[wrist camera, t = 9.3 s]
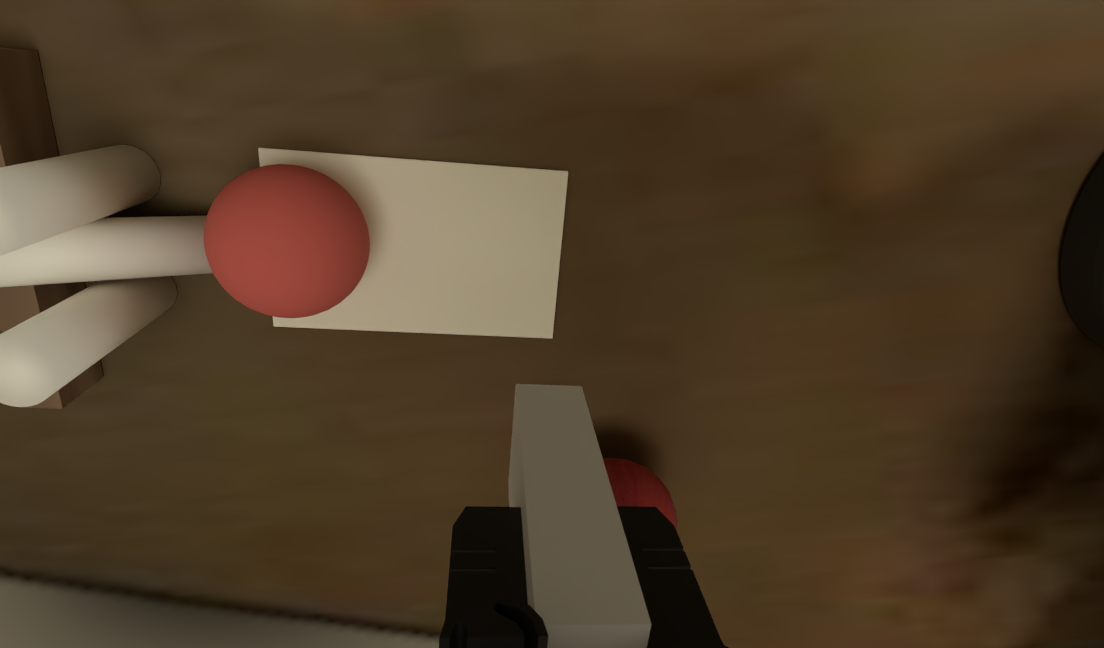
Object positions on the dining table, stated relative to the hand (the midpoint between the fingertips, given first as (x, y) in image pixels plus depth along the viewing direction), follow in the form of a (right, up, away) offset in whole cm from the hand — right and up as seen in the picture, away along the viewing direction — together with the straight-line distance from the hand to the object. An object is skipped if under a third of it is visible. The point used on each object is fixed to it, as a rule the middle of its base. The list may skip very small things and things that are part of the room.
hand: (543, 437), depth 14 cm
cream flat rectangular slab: (-6, +6, +14) cm, 16 cm away
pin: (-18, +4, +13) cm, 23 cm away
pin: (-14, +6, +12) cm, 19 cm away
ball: (-10, +6, +10) cm, 15 cm away
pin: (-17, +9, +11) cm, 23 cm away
